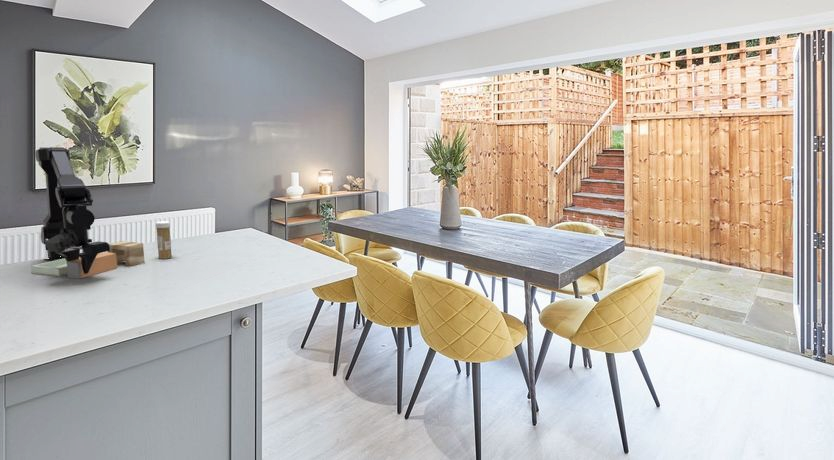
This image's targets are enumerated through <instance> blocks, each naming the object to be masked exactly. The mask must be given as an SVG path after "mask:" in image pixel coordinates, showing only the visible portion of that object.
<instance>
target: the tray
mask: <svg viewBox="0 0 834 460" xmlns="http://www.w3.org/2000/svg"><path fill="white" fill-rule="evenodd" d="M102 253H103V252H102ZM102 253H98V254H102ZM98 254H97V255H98ZM79 259H81V258H80V257H79ZM30 271H31V274H33V275H34V274H35V275H42V276H43V275H45V276H52V277H62V276H66V275H67V276H68V270H67V261H66V259H65V258H63V259H59V260H55V261H50V260H49V261H45V262H42V263H38V264H33V265H30Z"/></svg>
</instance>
